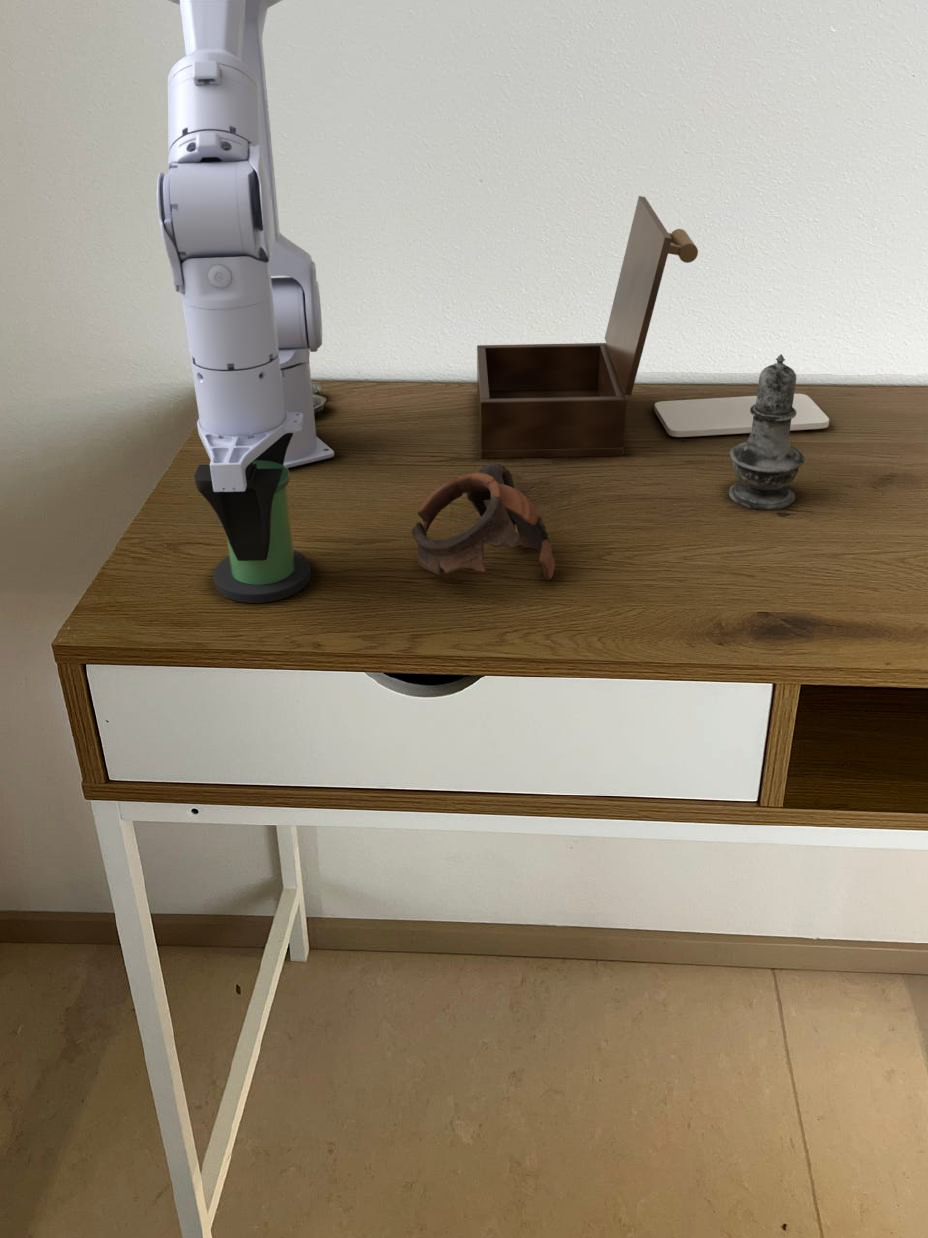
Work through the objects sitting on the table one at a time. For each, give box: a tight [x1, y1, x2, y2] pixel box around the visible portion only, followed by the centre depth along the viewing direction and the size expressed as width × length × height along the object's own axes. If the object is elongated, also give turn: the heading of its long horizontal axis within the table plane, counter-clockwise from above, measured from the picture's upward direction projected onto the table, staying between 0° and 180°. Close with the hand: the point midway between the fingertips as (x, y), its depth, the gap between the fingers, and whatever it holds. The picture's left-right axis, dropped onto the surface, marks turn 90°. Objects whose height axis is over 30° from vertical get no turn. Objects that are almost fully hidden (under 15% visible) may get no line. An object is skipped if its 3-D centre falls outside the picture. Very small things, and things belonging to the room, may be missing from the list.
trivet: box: [213, 549, 312, 604], centre depth 84 cm, size 7×7×1 cm
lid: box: [604, 195, 699, 397], centre depth 101 cm, size 13×15×4 cm
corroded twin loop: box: [311, 382, 327, 415], centre depth 111 cm, size 5×8×1 cm, turn 13°
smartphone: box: [653, 393, 830, 438], centre depth 107 cm, size 7×1×15 cm
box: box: [476, 342, 628, 459], centre depth 106 cm, size 13×15×5 cm
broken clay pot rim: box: [411, 462, 556, 581], centre depth 84 cm, size 12×10×8 cm
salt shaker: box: [728, 354, 805, 511], centre depth 91 cm, size 6×6×12 cm
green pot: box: [225, 460, 295, 585], centre depth 81 cm, size 5×5×8 cm
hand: (258, 538), depth 82 cm, fingers open, 5 cm apart
